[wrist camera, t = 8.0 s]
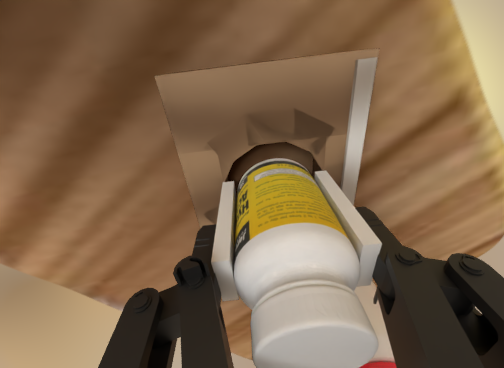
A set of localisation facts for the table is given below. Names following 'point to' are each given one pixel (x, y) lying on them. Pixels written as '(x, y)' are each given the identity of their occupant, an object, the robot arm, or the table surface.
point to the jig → (269, 117)
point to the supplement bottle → (297, 273)
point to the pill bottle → (376, 328)
